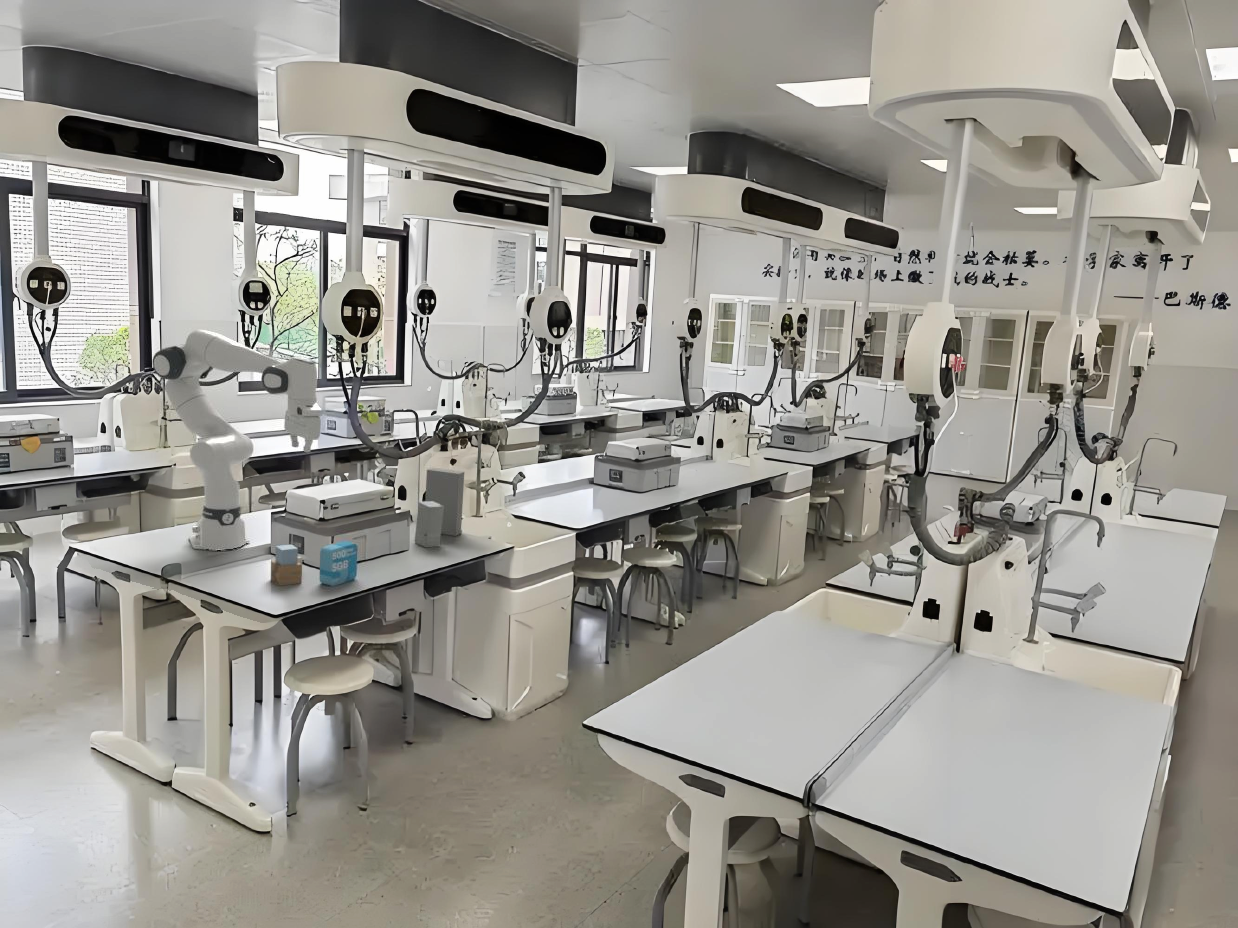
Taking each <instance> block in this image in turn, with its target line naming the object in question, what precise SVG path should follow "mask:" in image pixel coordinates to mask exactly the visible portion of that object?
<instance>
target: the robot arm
mask: <svg viewBox="0 0 1238 928" xmlns="http://www.w3.org/2000/svg"><path fill="white" fill-rule="evenodd" d="M152 368H153V370H154V372H155V374H156V375H157V376H158V377H160V378H161V379H163V380H167V381H166V383H165V385H164V390H165V392H166V395H167V397H168V400H169V401H170V403H171V405H172V407H173V408H174V410H175V412H176V413H177V415H178V418H179V419H180V420H181V422H182V423H183V425H184V426H185V428H186V429H187V430H188V431H189V432H190V433H191V434H193V435H196V436H198V437H199V438H201V440H199V441H198V442H195V443H193V445H192V446H191V448H190V451H189V456H190V460H191V464H193V465H194V466H195V467H196V468H197V469H198V470H199V472H200V474H201V478H202V479H203V486H204V505H203V508H202V516H201V518H200V519H199V520H198V521H196V525H193V526H192V529H191V530H192V533H193V534H190V535H188V538H189V539H188V540H189V541H190V542H189V543H190V544H191V547H192V549H194V550H206V549H209V550H208V551H217V550H216V549H232V548H237V547H240V546H242V545H244V544H245V543H247V542H249V543H250V539H248V538H246V526H245V525H246V523H245V520H243V519H242V518H241V512H242V508H241V505H240V488H241V487H240V483H239V482H238V481H237V480H236V479H235V478H234V477H233V472H232V468H231V467H232V466H236V465H240V464H241V463H243V462H245V461H247V460H249V458H251V456H252V455H253V453H254V443H253V441H252V439H251V438H250V437H249V436H248V435H246V434H243V433H241V432H240V431H238V430H237V429H235V427H233V426H232V425H231V424H230V423H229V422H227V421H226V419H224V418H223V417H222V416H221V415H220V413H219V411H217V409H216V408H215V406H214V405H213V403H212V402H211V400H210V399H209V397H208V396H207V394H206V393H205V392H204V390H203V388H202V387H201V385H200V379H201V380H204V379H207V377H208V375H209V373H210V372H212V371H213V369H216V370H219V371H223V372H228V373H247V372H248V373H249V372H251V373H259V374H261V377H260V378H261V385H262V387H263V389H264V390H265V392H267V393H269V394H271V395H287V409H286V411H285V413H284V426H283V428H284V431H285V432H286V433H289V437H290V440H291V447H292V448H298V447H299V446H300V445H299V444H300V443H299V438H302V439H304V445H303V447H302V448H303V452H305V453H311V450H312V449H311V448H312V445H313V442H314V441H315V440H319V438H320V435H321V427H322V426H321V425H322V424H321V420H322V419H321V417H322V416H323V410H322V409H321V407H320V406H319V405H318V402H317V394H316V393H317V392H316V391H317V387H318V370H317V364H316V362H315V361H314V360H313V359H311V358H309V357H304V356H299V355H298V356H297V355H295V356H292V357H290V358H289V359H288V360H286V361H283V360H280V359H278V358H276V357H273V356H270V355H268V354H264V353H262V352H259V351H256V350H255V349H252V348H250V347H249V346H247V345H244V344H242V343H239V342H237V341H235V340H233V339H232V338H229V337H226V336H225V335H222V334H220V333H217V332H213V331H210V330H205V329H196V330H193V331H192V332H190V333H189V334H188V335H187V337H186V340H185V343H183V344H182V343H181V344H179V345H172V346H168V347H165V348H162V349H160V350H158V351H156V352H155V354H154V355H153V357H152ZM298 437H299V438H298ZM245 545H246V544H245ZM245 545H244V546H245ZM211 549H212V550H211ZM213 549H214V550H213ZM237 549H238V548H237Z"/></svg>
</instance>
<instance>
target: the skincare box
mask: <svg viewBox="0 0 1238 928" xmlns="http://www.w3.org/2000/svg"><path fill="white" fill-rule="evenodd" d="M443 511H444V506H442V505H440V504H439V503H436V502H433V501H425V500H424V501H419V502H418V508H417V516H416V526H415V535H414V543H415V544H417V545H420V546H421V547H425V548H433V546H434V547H439V546H438V545H441V535H442V534H441V528H442V519H443Z"/></svg>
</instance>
